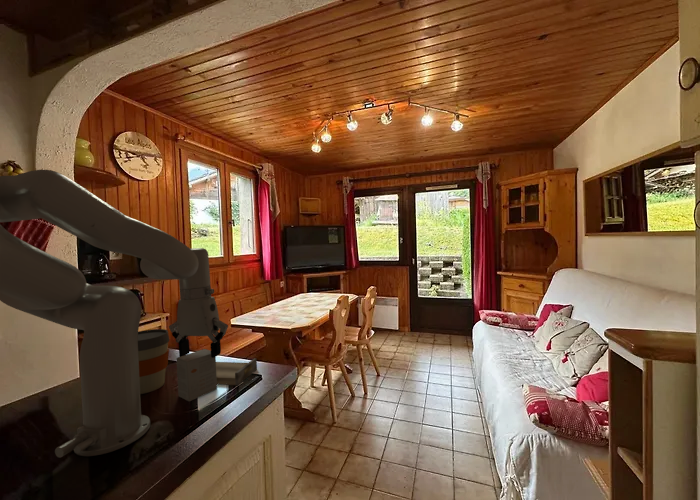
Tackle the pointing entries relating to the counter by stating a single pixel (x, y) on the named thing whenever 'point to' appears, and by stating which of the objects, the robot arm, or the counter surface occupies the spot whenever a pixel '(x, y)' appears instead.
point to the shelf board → (234, 372)
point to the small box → (196, 374)
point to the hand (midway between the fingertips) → (200, 355)
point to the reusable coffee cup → (152, 358)
